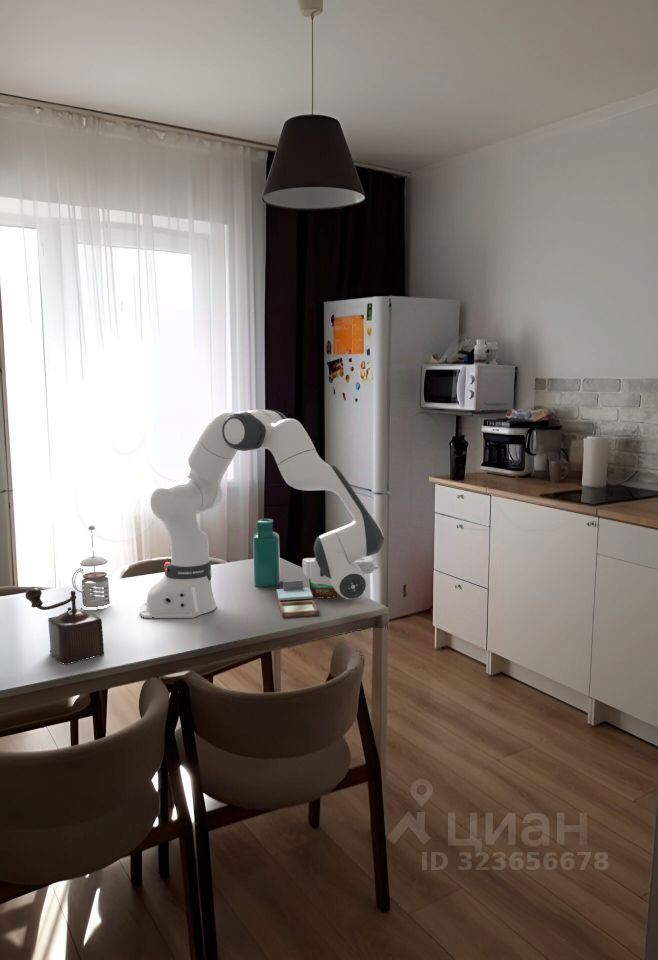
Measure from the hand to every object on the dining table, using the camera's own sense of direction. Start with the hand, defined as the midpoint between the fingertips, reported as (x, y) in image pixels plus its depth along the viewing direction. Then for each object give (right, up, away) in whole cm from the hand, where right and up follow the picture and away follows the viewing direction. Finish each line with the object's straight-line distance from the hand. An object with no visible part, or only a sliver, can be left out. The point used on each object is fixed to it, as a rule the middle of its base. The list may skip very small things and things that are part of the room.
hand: (334, 558), depth 215 cm
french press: (-73, -16, +10) cm, 76 cm away
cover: (-12, -12, +12) cm, 21 cm away
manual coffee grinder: (-67, -21, -31) cm, 77 cm away
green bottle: (-22, -12, +31) cm, 40 cm away
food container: (-3, -14, +16) cm, 21 cm away
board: (-11, -15, +7) cm, 20 cm away
